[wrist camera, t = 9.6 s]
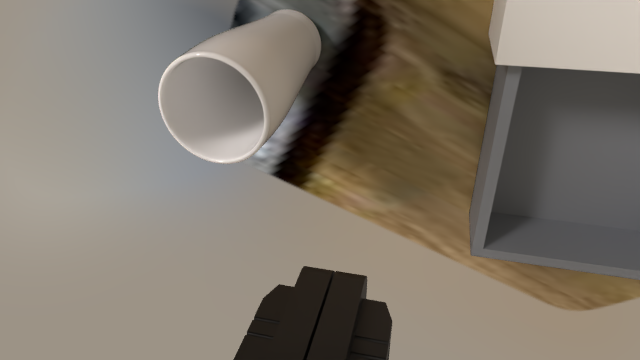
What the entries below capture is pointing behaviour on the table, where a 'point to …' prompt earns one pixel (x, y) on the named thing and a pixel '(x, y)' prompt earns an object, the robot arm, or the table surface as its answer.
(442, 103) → the table surface
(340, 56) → the table surface
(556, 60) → the mailer sleeve
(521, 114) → the tray
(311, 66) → the white cup
